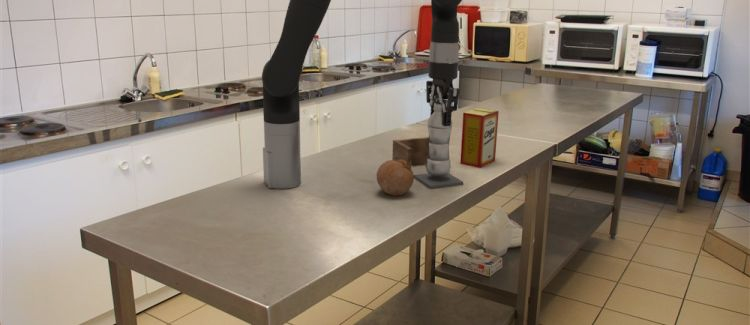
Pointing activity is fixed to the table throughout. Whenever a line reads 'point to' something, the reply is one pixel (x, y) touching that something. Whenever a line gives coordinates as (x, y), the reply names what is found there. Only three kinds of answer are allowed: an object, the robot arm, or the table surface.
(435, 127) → the plastic bottle
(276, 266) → the table surface
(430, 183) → the rubber mat
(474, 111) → the baking soda box
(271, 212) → the table surface
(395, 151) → the walnut rack
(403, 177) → the onion
